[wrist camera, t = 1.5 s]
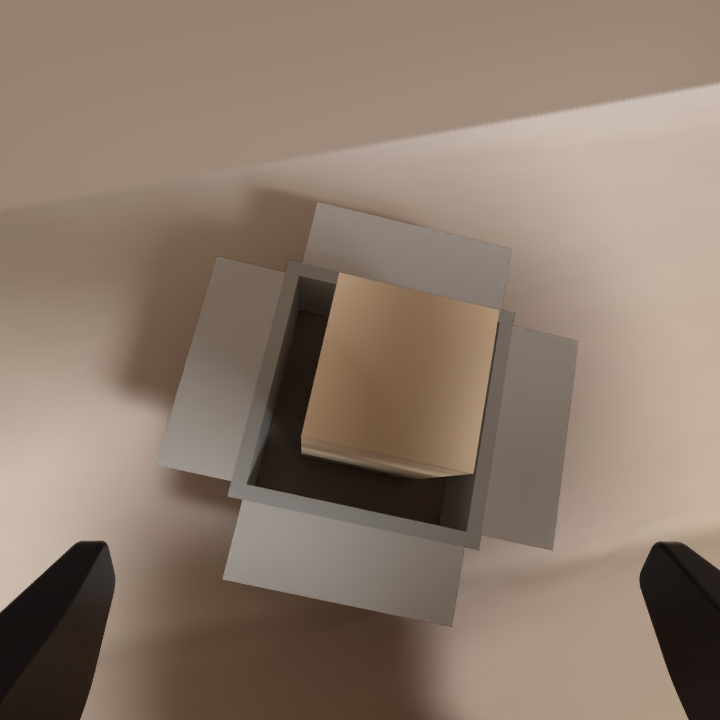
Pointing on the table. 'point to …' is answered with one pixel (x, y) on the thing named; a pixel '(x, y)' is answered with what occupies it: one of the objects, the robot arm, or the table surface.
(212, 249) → the table surface
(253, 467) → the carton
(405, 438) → the box
